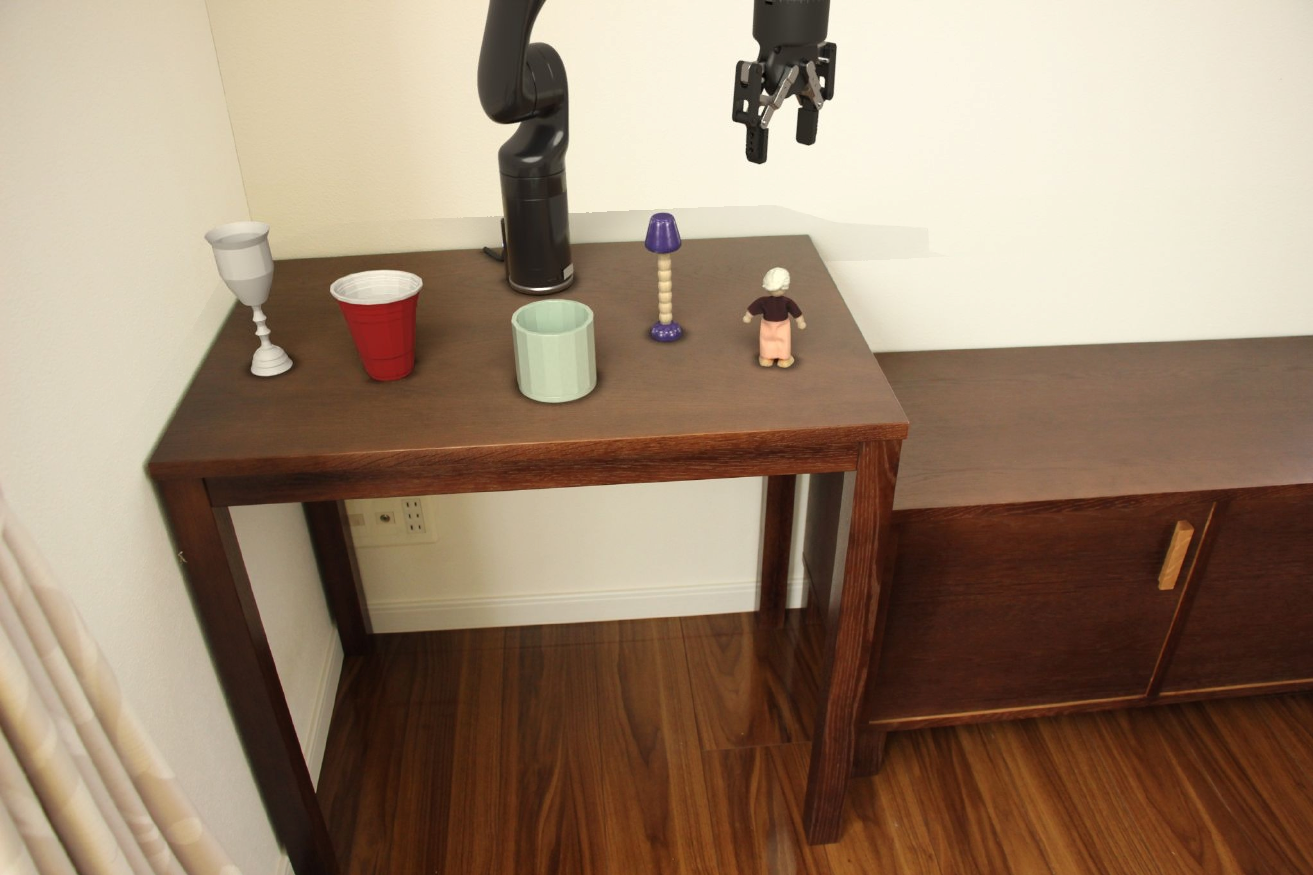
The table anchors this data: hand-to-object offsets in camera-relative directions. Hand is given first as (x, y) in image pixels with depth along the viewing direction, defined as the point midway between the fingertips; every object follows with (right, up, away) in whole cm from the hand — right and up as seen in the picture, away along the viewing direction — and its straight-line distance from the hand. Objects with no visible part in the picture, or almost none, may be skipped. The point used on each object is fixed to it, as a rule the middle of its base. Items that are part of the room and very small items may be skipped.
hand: (781, 152), depth 106 cm
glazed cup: (-26, -24, +15) cm, 38 cm away
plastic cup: (-47, -22, +19) cm, 55 cm away
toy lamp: (-12, -17, +26) cm, 33 cm away
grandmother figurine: (+1, -21, +19) cm, 29 cm away
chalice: (-62, -22, +20) cm, 69 cm away
